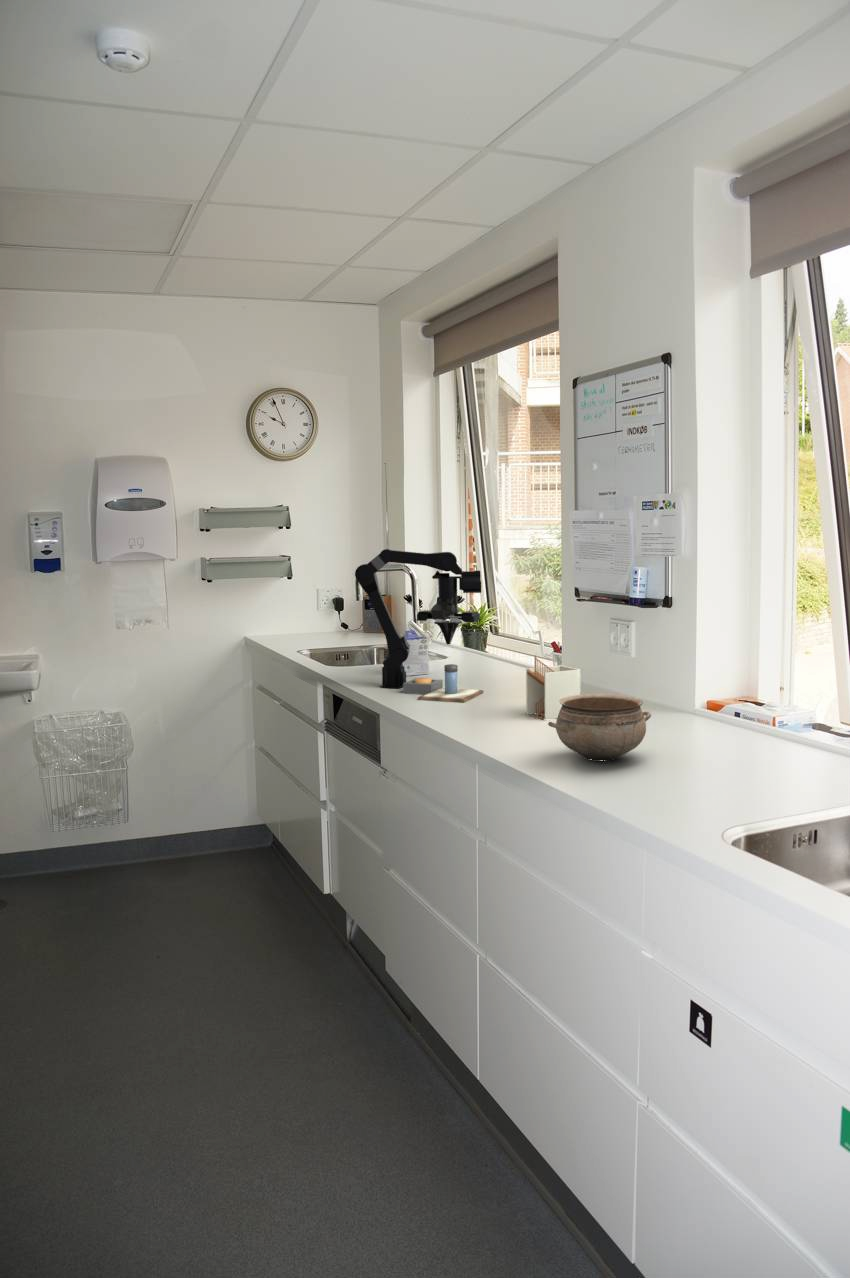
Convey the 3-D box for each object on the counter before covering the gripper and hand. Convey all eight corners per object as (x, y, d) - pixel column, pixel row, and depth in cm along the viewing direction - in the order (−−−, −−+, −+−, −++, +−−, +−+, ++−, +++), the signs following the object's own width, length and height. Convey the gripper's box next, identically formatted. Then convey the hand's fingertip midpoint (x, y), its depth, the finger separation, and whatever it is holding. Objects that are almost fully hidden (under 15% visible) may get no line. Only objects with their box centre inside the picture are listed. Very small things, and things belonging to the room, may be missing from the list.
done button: (412, 686, 293) (411, 680, 292) (418, 683, 297) (418, 677, 297) (427, 687, 291) (427, 680, 291) (434, 684, 295) (433, 678, 295)
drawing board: (418, 699, 281) (418, 696, 281) (439, 690, 295) (439, 687, 295) (464, 702, 275) (464, 699, 275) (483, 692, 290) (483, 689, 290)
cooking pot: (573, 774, 197) (573, 714, 195) (527, 754, 214) (527, 699, 213) (676, 761, 206) (677, 703, 205) (624, 742, 224) (625, 689, 222)
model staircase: (525, 716, 257) (525, 653, 255) (560, 712, 262) (560, 650, 260) (544, 722, 250) (544, 657, 248) (580, 717, 255) (580, 654, 253)
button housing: (403, 693, 292) (403, 683, 292) (415, 688, 300) (415, 678, 300) (431, 694, 288) (431, 684, 288) (442, 689, 297) (442, 679, 296)
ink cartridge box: (423, 672, 332) (422, 629, 330) (430, 674, 327) (429, 631, 325) (396, 674, 327) (395, 631, 326) (402, 676, 322) (401, 632, 321)
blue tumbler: (443, 693, 284) (443, 666, 282) (446, 691, 287) (445, 664, 286) (456, 694, 283) (456, 667, 282) (458, 691, 287) (458, 664, 285)
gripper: (409, 594, 295) (409, 646, 297) (467, 595, 288) (467, 648, 290) (423, 592, 306) (424, 642, 308) (480, 593, 298) (480, 644, 300)
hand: (448, 644), depth 301 cm, fingers closed
